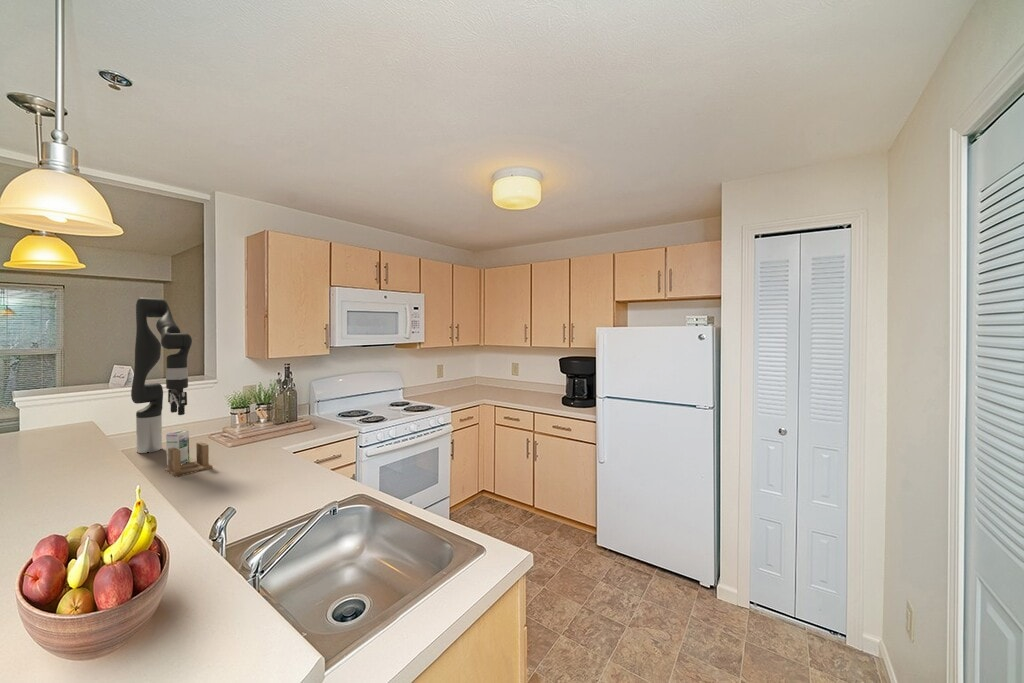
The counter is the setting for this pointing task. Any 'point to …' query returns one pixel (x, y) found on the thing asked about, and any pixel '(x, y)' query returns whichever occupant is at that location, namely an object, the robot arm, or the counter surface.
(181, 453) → the syrup box
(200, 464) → the slot block
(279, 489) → the counter surface
